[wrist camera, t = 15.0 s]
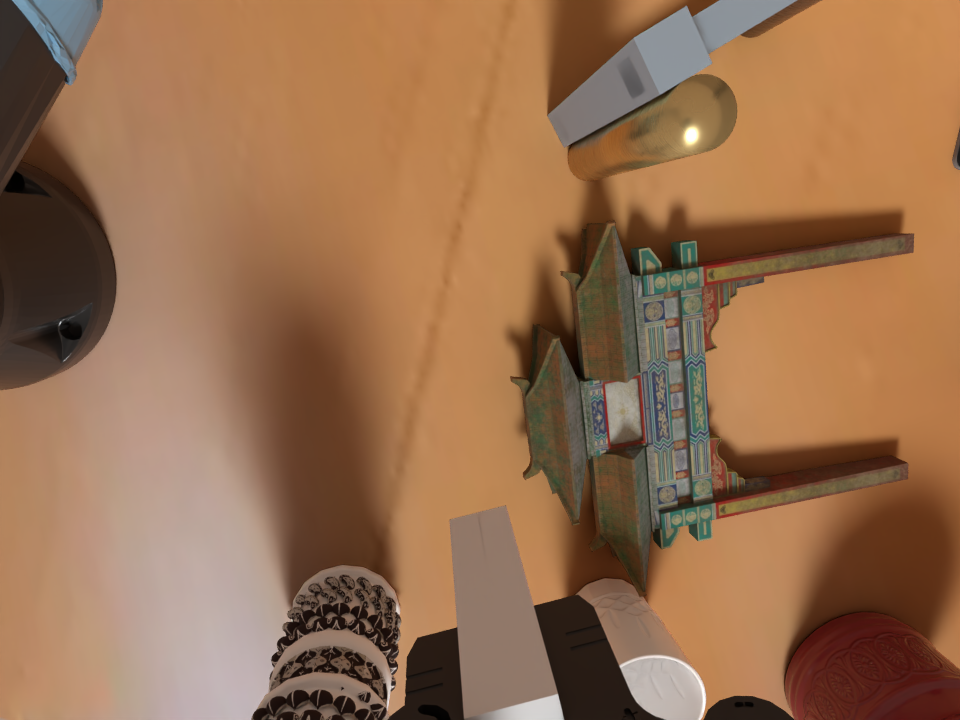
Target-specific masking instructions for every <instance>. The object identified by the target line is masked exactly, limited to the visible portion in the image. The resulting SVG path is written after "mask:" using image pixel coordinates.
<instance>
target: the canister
mask: <svg viewBox="0 0 960 720" xmlns="http://www.w3.org/2000/svg"><path fill="white" fill-rule="evenodd" d="M785 694H786V699H787V703H788V705H789V708H790V710H791V711H792V714H793V716H794V719H795V720H960V669H959V668H958V667H956V666H955V665H954V664H953V663H952V662H950V661H949V660H948V659H947V658H946V657H944V656H943V655H942V654H941V653H940V652H938V651H937V650H936V648H935V647H934V646H933V644H932V643H931V642H930V641H929V640H928V639H927V638H925V637H924V636H923V635H921V634H920V633H919V632H918V631H917V630H915V629H914V628H912V627H911V626H909V625H907V624H904V623H902V622H901V621H899V620H897V619H895V618H893V617H891V616H888V615H885V614H881V613H875V612H860V613H853V614H848V615H845V616H842V617H839V618H836V619H834V620H832V621H830V622H828V623H826V624H824V625H823V626H821V627H820V628H818V629H817V630H816V631H814V632H813V633H812V634H811V635H810V636H809V637H808V638H807V639H806V640H805V641H804V642H803V643H802V644H801V645H800V647H799V648H798V649H797V651H796V652H795V654H794V656H793V658H792V660H791V662H790V664H789V667H788V670H787V674H786V679H785Z"/></svg>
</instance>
